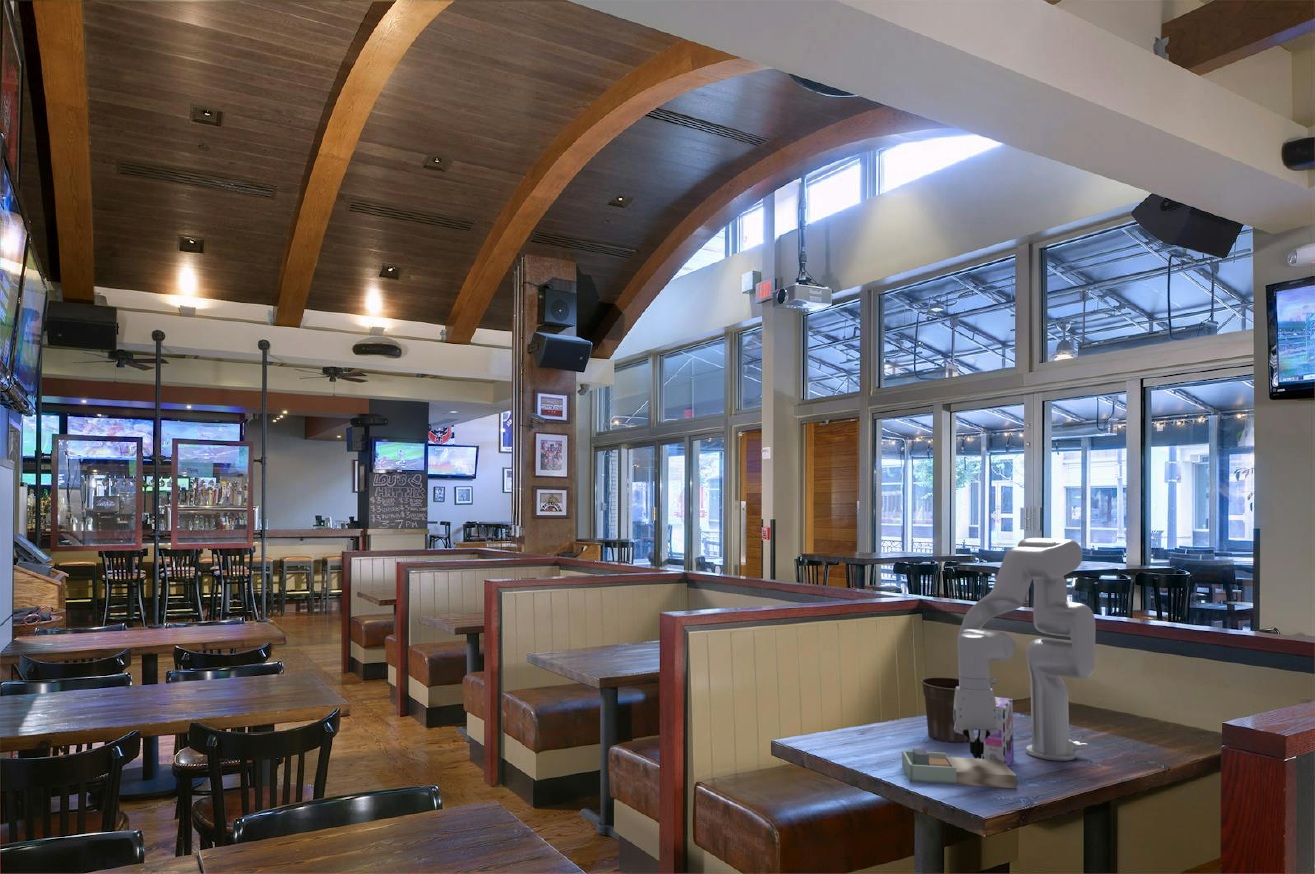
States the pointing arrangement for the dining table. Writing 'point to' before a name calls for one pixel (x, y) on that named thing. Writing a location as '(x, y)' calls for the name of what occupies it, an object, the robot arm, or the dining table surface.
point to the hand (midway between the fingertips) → (976, 756)
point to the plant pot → (941, 708)
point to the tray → (928, 770)
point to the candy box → (1001, 734)
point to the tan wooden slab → (982, 772)
